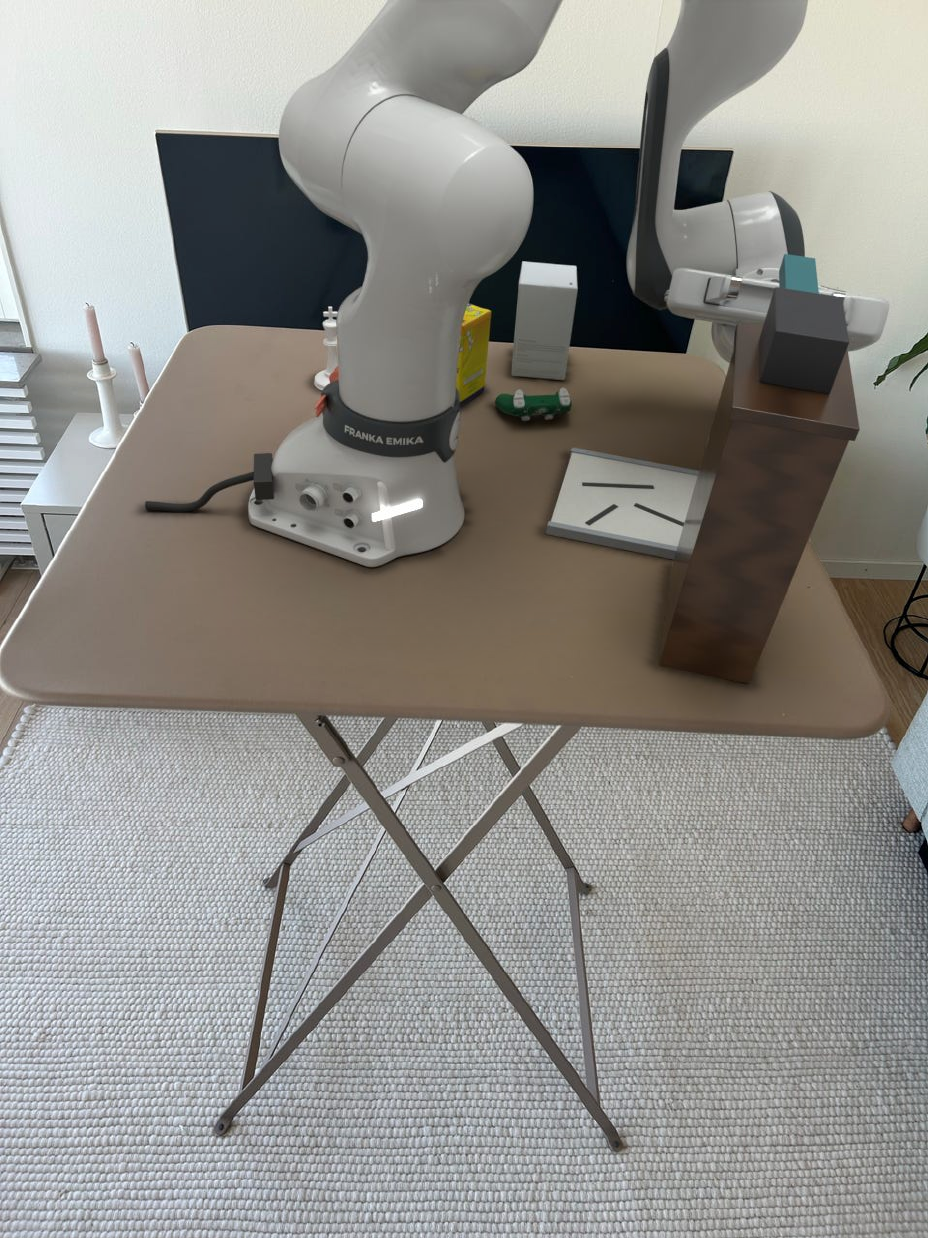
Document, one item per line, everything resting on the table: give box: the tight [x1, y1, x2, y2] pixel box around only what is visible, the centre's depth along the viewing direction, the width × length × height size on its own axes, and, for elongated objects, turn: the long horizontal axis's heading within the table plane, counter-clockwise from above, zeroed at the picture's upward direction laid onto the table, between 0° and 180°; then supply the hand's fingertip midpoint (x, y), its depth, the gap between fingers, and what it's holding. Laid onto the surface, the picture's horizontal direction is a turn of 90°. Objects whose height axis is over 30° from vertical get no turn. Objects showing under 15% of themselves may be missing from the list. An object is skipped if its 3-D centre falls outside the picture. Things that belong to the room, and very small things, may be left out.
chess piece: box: [313, 306, 338, 391], centre depth 109 cm, size 5×5×10 cm
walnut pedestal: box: [658, 321, 861, 685], centre depth 75 cm, size 9×15×26 cm, turn 166°
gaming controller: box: [494, 387, 573, 422], centre depth 108 cm, size 9×4×6 cm
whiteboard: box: [545, 447, 699, 561], centre depth 96 cm, size 18×16×1 cm
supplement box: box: [456, 302, 492, 408], centre depth 109 cm, size 6×6×11 cm
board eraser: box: [760, 254, 849, 394], centre depth 69 cm, size 5×19×4 cm, turn 166°
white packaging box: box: [511, 260, 579, 381], centre depth 115 cm, size 7×7×13 cm
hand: (786, 293), depth 78 cm, fingers open, 8 cm apart
